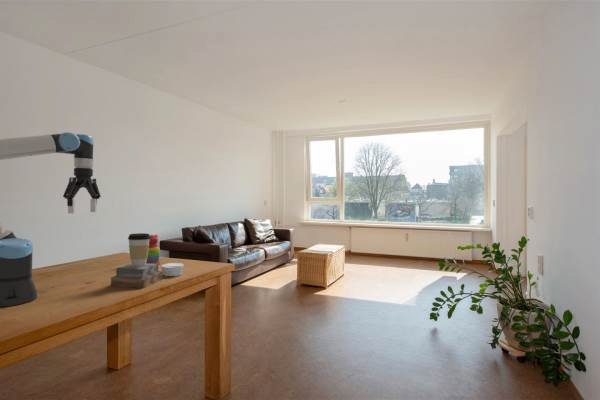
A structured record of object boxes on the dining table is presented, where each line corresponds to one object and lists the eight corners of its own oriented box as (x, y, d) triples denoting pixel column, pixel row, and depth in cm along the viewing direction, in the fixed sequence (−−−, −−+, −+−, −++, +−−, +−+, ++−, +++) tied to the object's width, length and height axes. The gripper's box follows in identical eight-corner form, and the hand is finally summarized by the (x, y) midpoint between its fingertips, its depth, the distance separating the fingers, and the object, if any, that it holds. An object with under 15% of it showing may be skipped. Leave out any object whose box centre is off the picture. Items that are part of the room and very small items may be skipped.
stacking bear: (157, 262, 206) (158, 233, 206) (163, 264, 198) (163, 235, 198) (139, 264, 199) (139, 234, 199) (143, 267, 191) (144, 236, 191)
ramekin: (163, 278, 168) (164, 268, 168) (158, 273, 177) (158, 264, 177) (186, 275, 175) (186, 265, 175) (180, 271, 184) (180, 262, 184)
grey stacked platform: (143, 288, 150) (143, 270, 150) (110, 286, 152) (111, 268, 152) (162, 279, 166) (162, 263, 166) (132, 277, 168) (132, 261, 168)
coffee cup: (141, 262, 166) (142, 232, 166) (154, 265, 161) (155, 234, 161) (122, 266, 158) (123, 234, 157) (135, 268, 153) (136, 236, 152)
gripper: (95, 169, 170) (94, 211, 171) (53, 165, 146) (53, 213, 146) (109, 170, 169) (108, 211, 170) (69, 165, 145) (68, 214, 145)
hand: (82, 212), depth 158 cm, fingers open, 13 cm apart
